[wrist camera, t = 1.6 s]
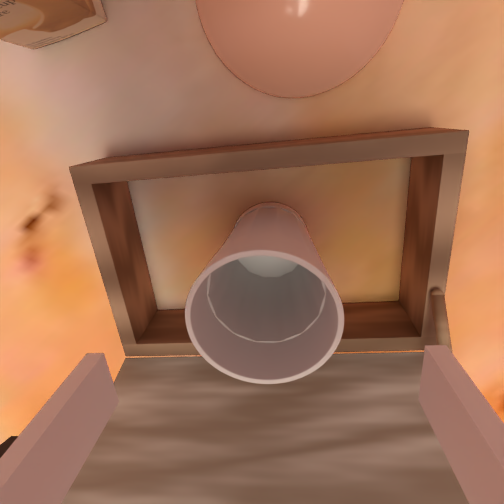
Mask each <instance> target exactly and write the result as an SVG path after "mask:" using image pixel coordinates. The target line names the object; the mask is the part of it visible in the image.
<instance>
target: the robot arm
mask: <svg viewBox="0 0 504 504" xmlns="http://www.w3.org/2000/svg"><path fill="white" fill-rule="evenodd" d="M418 400H419V402H420V404H421V406H422V408H423V410H424V413H425V415H426V417H427V419H428V421H429V423H430V425H431V427H432V429H433V431H434V433H435V435H436V437H437V439H438V441H439V443H440V445H441V447H442V449H443V451H444V453H445V455H446V457H447V459H448V461H449V463H450V465H451V467H452V470H453V472H454V474H455V476H456V478H457V480H458V482H459V484H460V486H461V488H462V490H463V492H464V494H465V496H466V498H467V500H468V502H469V504H504V423H503V422H502V421H501V419H500V418H499V416H498V415H497V414H496V412H495V411H494V410H493V408H492V407H491V406H490V404H489V403H488V401H487V400H486V399H485V397H484V396H483V395H482V393H481V392H480V391H479V389H478V388H477V386H476V385H475V384H474V382H473V381H472V380H471V378H470V377H469V376H468V374H467V373H466V372H465V370H464V369H463V367H462V366H461V365H460V363H459V362H458V361H457V359H456V358H455V357H454V355H453V354H452V352H451V351H450V350H449V348H448V347H447V346H446V345H426V346H425V350H424V358H423V366H422V374H421V382H420V390H419V398H418ZM118 403H119V399H118V396H117V393H116V390H115V387H114V384H113V381H112V377H111V374H110V371H109V368H108V365H107V362H106V359H105V355H104V353H87V354H86V355H85V357H84V358H83V359H82V360H81V361H80V363H79V364H78V365H77V366H76V367H75V369H74V370H73V371H72V372H71V373H70V375H69V376H68V377H67V378H66V379H65V381H64V382H63V383H62V384H61V385H60V387H59V388H58V389H57V390H56V392H55V393H54V394H53V395H52V396H51V398H50V399H49V400H48V401H47V402H46V404H45V405H44V406H43V407H42V408H41V410H40V411H39V412H38V413H37V414H36V416H35V417H34V418H33V419H32V421H31V422H30V423H29V424H28V425H27V427H26V428H25V429H24V430H23V431H22V433H21V434H20V435H19V436H11V437H10V438H8V439H7V440H6V441H5V442H3V443H2V444H1V445H0V504H61V503H62V501H63V499H64V498H65V496H66V494H67V492H68V491H69V489H70V487H71V485H72V484H73V482H74V480H75V478H76V477H77V475H78V473H79V471H80V470H81V468H82V466H83V464H84V463H85V461H86V459H87V457H88V456H89V454H90V452H91V450H92V449H93V447H94V445H95V443H96V442H97V440H98V438H99V436H100V435H101V433H102V431H103V429H104V428H105V426H106V424H107V422H108V421H109V419H110V417H111V415H112V414H113V412H114V410H115V408H116V407H117V405H118Z"/></svg>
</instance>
